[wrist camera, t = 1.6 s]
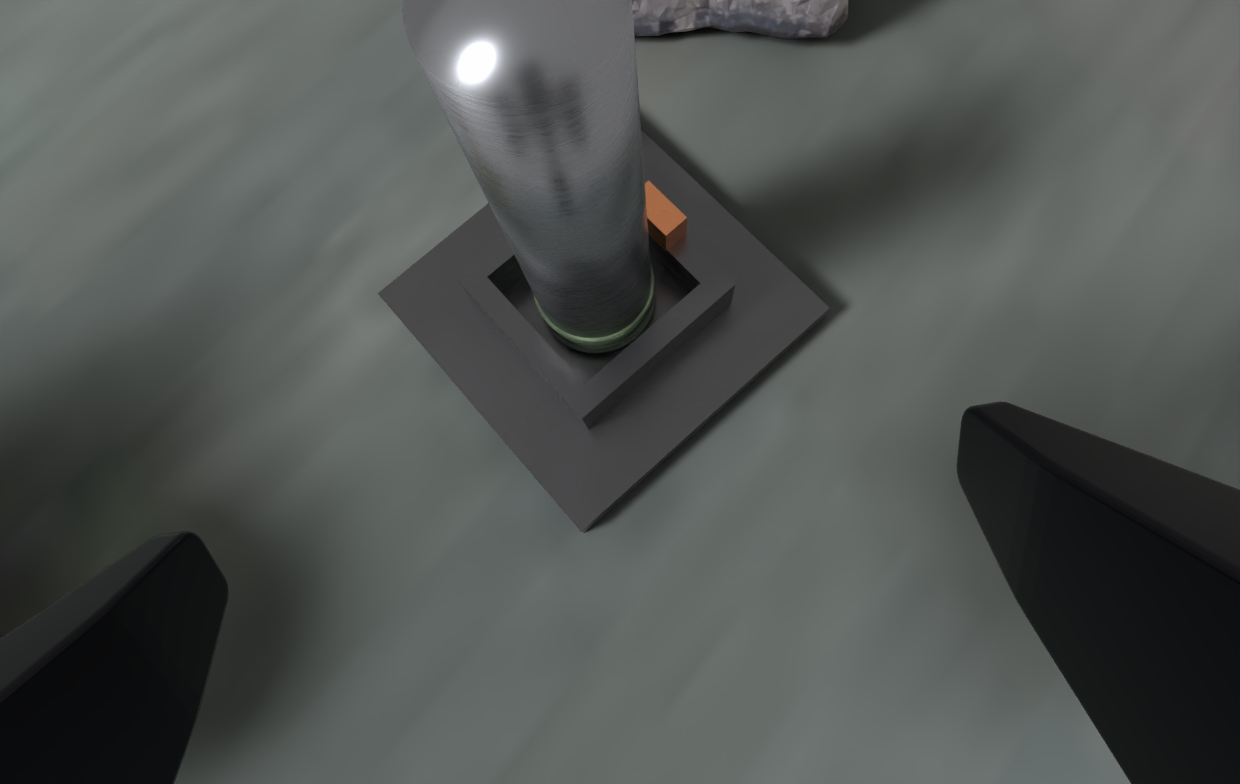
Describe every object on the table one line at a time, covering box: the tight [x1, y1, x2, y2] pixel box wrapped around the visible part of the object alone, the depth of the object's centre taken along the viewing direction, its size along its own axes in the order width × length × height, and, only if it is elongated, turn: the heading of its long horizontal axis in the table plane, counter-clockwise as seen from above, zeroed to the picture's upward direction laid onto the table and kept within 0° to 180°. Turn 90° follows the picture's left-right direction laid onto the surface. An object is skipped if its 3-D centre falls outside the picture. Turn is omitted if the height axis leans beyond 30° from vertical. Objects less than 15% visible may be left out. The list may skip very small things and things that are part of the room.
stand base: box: [378, 130, 830, 533], centre depth 21 cm, size 10×10×3 cm
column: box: [403, 0, 655, 353], centre depth 16 cm, size 4×4×12 cm
